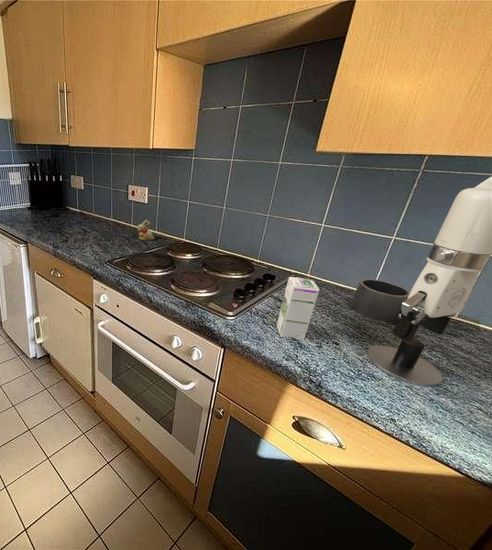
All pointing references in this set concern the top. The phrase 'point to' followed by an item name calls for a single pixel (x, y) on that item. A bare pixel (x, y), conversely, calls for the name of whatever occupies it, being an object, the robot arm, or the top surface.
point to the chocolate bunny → (145, 231)
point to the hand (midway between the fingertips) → (416, 334)
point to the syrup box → (297, 307)
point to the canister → (379, 300)
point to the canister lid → (405, 363)
